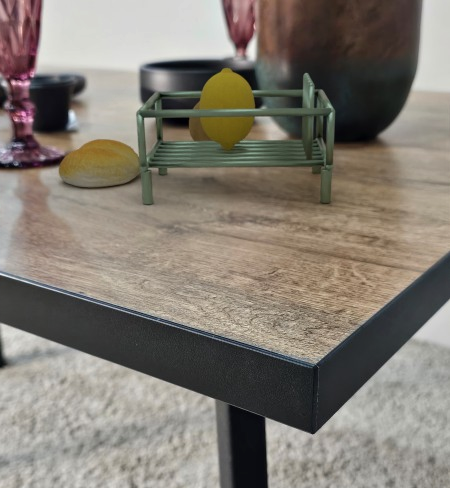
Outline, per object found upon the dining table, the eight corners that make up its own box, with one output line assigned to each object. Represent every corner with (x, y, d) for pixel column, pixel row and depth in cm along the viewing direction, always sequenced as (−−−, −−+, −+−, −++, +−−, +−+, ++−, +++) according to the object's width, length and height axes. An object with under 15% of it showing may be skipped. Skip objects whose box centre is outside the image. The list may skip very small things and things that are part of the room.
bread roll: (49, 188, 77) (44, 149, 76) (84, 168, 85) (80, 133, 84) (123, 191, 76) (120, 152, 74) (151, 171, 84) (149, 135, 82)
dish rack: (140, 205, 71) (133, 88, 66) (158, 172, 83) (153, 72, 79) (332, 204, 70) (337, 86, 66) (321, 171, 82) (324, 69, 78)
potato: (197, 167, 85) (195, 95, 82) (179, 154, 92) (177, 87, 89) (254, 161, 87) (254, 91, 84) (233, 149, 94) (232, 84, 91)
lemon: (248, 143, 78) (248, 64, 75) (260, 154, 73) (260, 70, 70) (196, 146, 77) (194, 66, 74) (204, 157, 72) (202, 72, 69)
